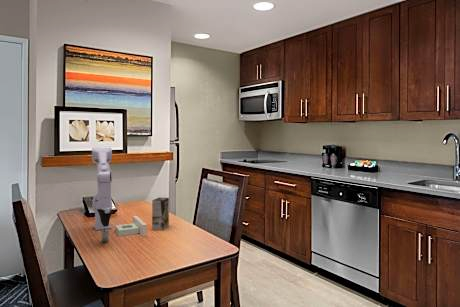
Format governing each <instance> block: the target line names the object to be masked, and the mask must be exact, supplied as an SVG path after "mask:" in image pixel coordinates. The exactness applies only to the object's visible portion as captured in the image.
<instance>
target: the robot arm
mask: <svg viewBox="0 0 460 307" xmlns="http://www.w3.org/2000/svg"><path fill="white" fill-rule="evenodd" d="M112 151H113V150H112V147H92V149H91V159H92V160H91V161H92V163H94V164H96V168H97V173H96V183H97V194H95V195H94V196H93V197H92V212H94V217H95V218H94V223H95V224H93V225H92V226H93V228H94V229H95V231H99V230H103V229H108V230H109V229H112V226H111V225H110V219H111V216H112V214H113V211H112V210H113V201H112V200H113V199H112V183H113V182H112V181H113V174H112V170H111V167H110V163H112V162H111V161H112V158H113V152H112Z"/></svg>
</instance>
